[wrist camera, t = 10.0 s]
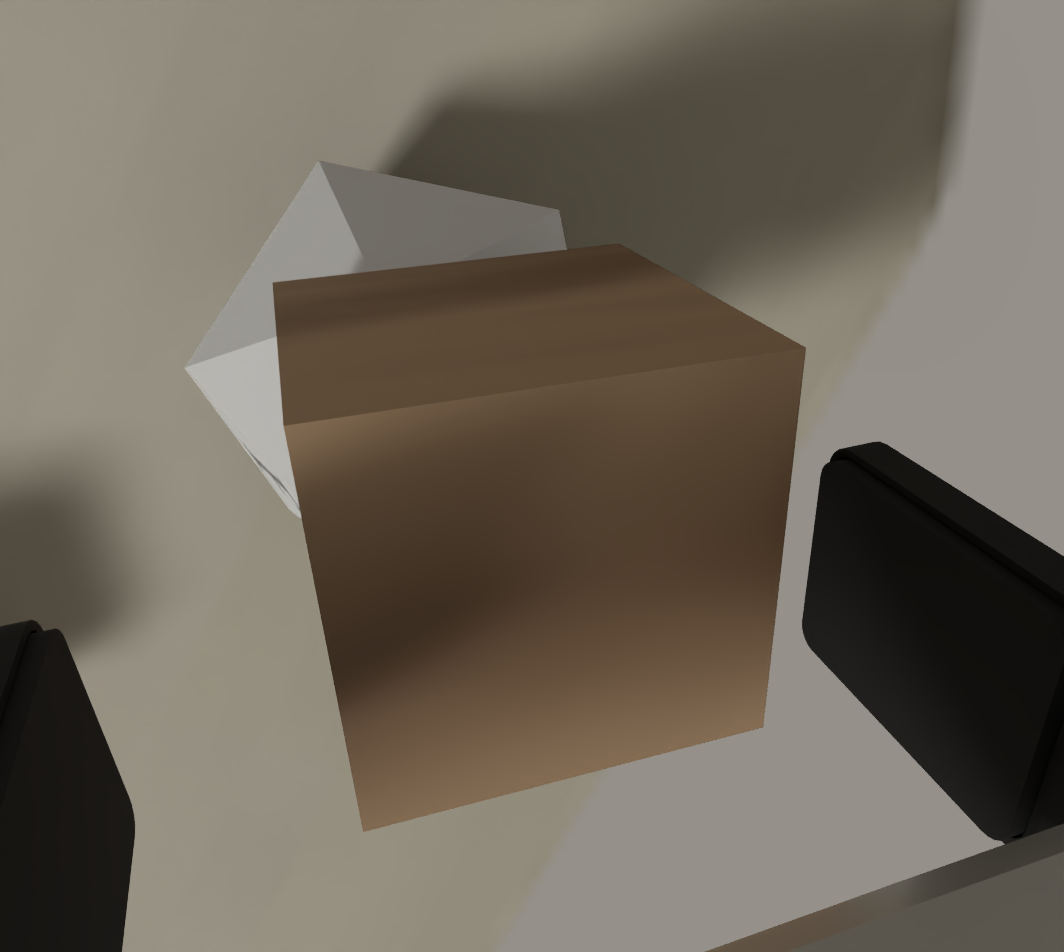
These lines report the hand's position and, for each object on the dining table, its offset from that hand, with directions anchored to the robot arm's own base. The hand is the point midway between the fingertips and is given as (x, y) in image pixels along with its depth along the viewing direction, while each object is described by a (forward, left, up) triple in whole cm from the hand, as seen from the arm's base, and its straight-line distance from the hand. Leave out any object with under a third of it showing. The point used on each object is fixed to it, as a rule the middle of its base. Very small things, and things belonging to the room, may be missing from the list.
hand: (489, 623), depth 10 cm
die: (0, +1, -14) cm, 14 cm away
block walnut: (0, +1, -6) cm, 6 cm away
